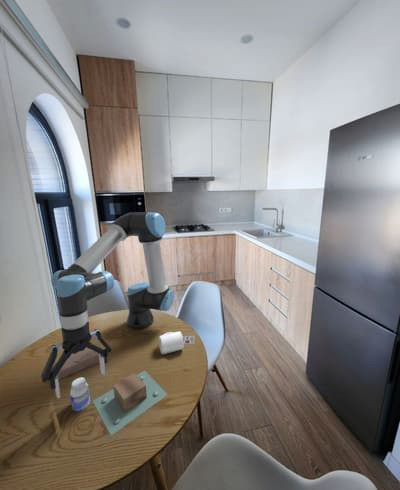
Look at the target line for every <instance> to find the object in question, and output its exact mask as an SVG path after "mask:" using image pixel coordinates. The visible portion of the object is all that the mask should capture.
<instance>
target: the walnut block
mask: <svg viewBox="0 0 400 490" xmlns="http://www.w3.org/2000/svg"><path fill="white" fill-rule="evenodd" d="M137 375H138V374H137V373H135V372H134V373H132V374H129V376H127V377H125V378H123V379H122V380H120V381H118V382H116V383H115V384H113V389H114V396H115V399H116V400H117V402H118V404H119V405H120V407H121V408H122V410H123V411H124V413H125V412H127V411H128V410H130V409H131V408H133V407H134V406H136V405H137V404H139V403H140V402H141V401H143V400H144V399H146V398H147V394H146V385H145V384H144V383H143V381H142V380H141V379H140V378H139V377H138V376H137Z"/></svg>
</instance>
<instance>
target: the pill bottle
mask: <svg viewBox="0 0 400 490" xmlns="http://www.w3.org/2000/svg"><path fill="white" fill-rule="evenodd" d="M89 389H90V387H89V384H88V383H87V381H86V378H85V377H82V376H81V377H78V378H76V379H74V380H72V382H71V388H70V391H69V394H70V402H71V410H73V412H74V411H75V412H80V411H83V410H85V408H87V407H88V406H89V404H90V402H91V398H90V390H89Z"/></svg>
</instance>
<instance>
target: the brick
mask: <svg viewBox="0 0 400 490" xmlns="http://www.w3.org/2000/svg"><path fill="white" fill-rule="evenodd" d="M58 360H59V358H58V359H56V360H55V362H54V365H55V364H56V363H57V361H58ZM98 363H100V360H99V353H97V352H95V351H93V350H91V349H89V348H87V347H86V348H85V349H84V350H83V351H79V352H78V353H76V354H71V356H70V357H69V358H68V359H67V361H66V362H65V364H64V365H63V367H62V368H61V370H60V371H59V373H58V374H57V377H58V380H61V379H63V378H66V377H68V376H70V375H73V374H74V373H77V372H80V371H82V370H84V369H87V368H89V367H92V366H93V365H96V364H98Z"/></svg>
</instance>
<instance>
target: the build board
mask: <svg viewBox="0 0 400 490" xmlns="http://www.w3.org/2000/svg"><path fill="white" fill-rule="evenodd" d="M136 375H137V376H138V377H139V378H140V379H141V380H142V381H143V383H144V384H145V385H146V394H147V398H146V399H144V400H143V401H141V402H140V403H139V404H137V405H136V406H134V407H133V408H131V409H130V410H128V411H127V412H125V413H124V411H123V410H122V408H121V407H120V405H119V404H118V402H117V400H116V399H115V396H114V388H113V389H111V390H109V391H107V392H106V393H104V394H102V395H100V396H99V397H97V398H96V399H93V400H92V403H93V404H94V406H95V408H96V410H97V412H98V413H99V416H100V418H101V420H102V422H103V424H104V426H105V428H106V430H107V431H108V433H109V435H110V437H111V436H113V435H114V434H115V433H117V432H119V431H120V430H122V429H123V428H124V427H126V426H127V425H128V424H130V423H131V422H132V421H134V420H135V419H137V418H138V417H140V416H141V415H142V414H143V413H145V412H146V411H147V410H149V409H150V408H151V407H153V406H154V405H156V404H157V403H158V402H160V401H161V400H162V399H164V398H165V397H166V396H168V393H167V392H166V390H164V389H163V388H162V387H161V386H160V385H159V384H158V382H156V380H155V379H154V378H153V377H152V376H151V375H150V374H149V373H148V372H147V371H146V370H143V371H141V372H139V373H138V374H136Z"/></svg>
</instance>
